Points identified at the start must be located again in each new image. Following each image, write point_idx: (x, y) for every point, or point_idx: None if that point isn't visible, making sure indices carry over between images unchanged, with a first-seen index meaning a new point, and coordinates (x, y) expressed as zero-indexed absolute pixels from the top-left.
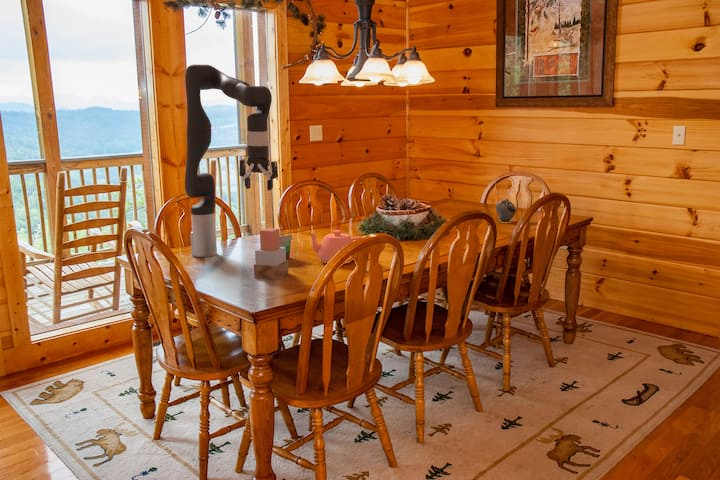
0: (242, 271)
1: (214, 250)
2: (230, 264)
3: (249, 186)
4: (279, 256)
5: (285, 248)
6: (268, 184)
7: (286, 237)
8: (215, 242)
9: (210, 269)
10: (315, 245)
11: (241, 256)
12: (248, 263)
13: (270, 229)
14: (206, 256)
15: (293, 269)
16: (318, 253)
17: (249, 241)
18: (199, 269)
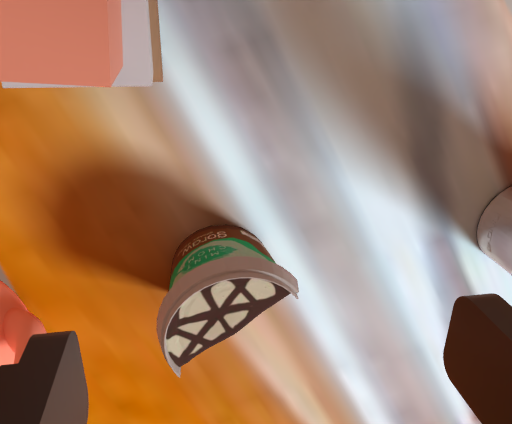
0: (267, 35)
1: (491, 230)
2: (369, 127)
3: (464, 360)
4: None
5: (5, 85)
6: (6, 416)
7: (167, 318)
8: (510, 257)
9: (421, 23)
10: (17, 329)
11: (375, 248)
12: (303, 167)
13: (35, 25)
14: (503, 192)
15: (57, 144)
16: (1, 297)
17: (426, 415)
18: (467, 7)
